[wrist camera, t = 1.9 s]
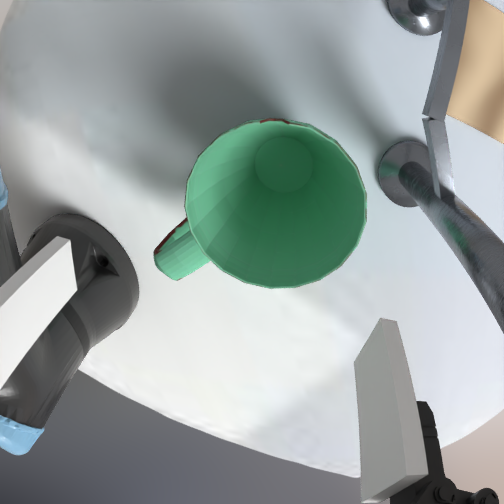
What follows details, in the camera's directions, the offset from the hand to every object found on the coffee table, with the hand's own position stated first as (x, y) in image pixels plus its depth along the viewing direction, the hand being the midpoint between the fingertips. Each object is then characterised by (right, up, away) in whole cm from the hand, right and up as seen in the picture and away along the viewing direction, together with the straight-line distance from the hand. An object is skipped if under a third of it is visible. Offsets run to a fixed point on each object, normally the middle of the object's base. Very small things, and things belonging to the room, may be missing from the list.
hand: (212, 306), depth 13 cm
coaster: (+24, +17, +5) cm, 29 cm away
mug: (+2, +8, +14) cm, 16 cm away
